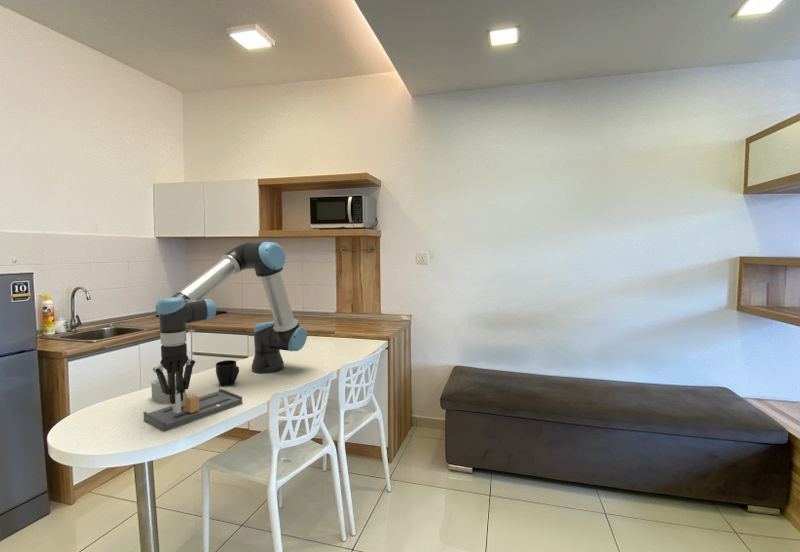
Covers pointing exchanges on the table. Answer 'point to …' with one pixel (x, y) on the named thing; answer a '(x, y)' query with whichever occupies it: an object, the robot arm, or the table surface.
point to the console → (207, 406)
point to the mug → (227, 372)
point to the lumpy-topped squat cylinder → (160, 392)
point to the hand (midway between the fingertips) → (177, 411)
